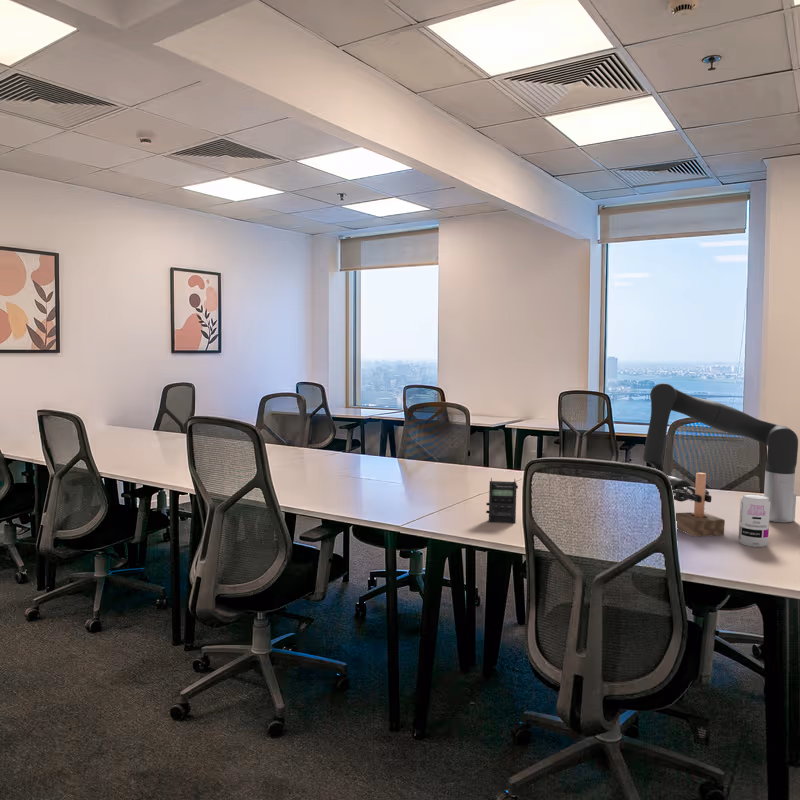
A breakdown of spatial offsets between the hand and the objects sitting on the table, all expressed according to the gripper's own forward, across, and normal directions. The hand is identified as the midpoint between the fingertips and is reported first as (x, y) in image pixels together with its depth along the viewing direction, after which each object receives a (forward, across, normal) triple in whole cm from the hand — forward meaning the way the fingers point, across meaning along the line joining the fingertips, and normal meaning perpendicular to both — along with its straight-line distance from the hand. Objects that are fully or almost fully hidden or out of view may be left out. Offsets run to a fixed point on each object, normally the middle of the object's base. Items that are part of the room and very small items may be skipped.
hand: (705, 499), depth 227 cm
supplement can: (+13, +8, +12) cm, 19 cm away
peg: (-3, 0, +10) cm, 10 cm away
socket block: (-3, 0, +11) cm, 12 cm away
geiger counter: (-24, -61, +12) cm, 67 cm away
